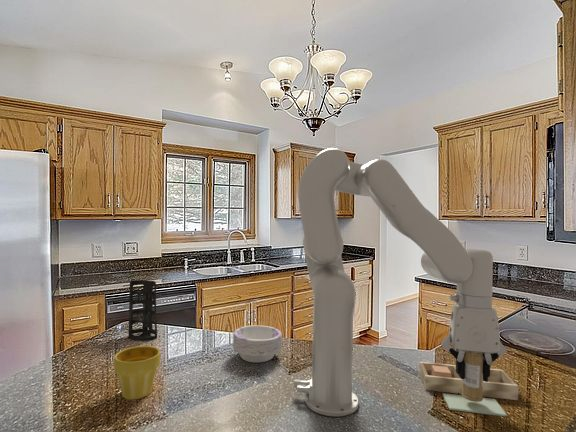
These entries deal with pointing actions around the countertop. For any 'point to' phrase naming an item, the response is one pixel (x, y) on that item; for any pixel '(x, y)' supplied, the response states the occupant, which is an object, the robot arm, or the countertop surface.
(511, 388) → the box
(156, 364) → the plant pot
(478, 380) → the sprinkles bottle
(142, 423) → the countertop surface
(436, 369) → the terracotta cube
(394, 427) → the countertop surface
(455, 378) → the box
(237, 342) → the white bowl
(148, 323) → the holder
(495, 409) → the mat
